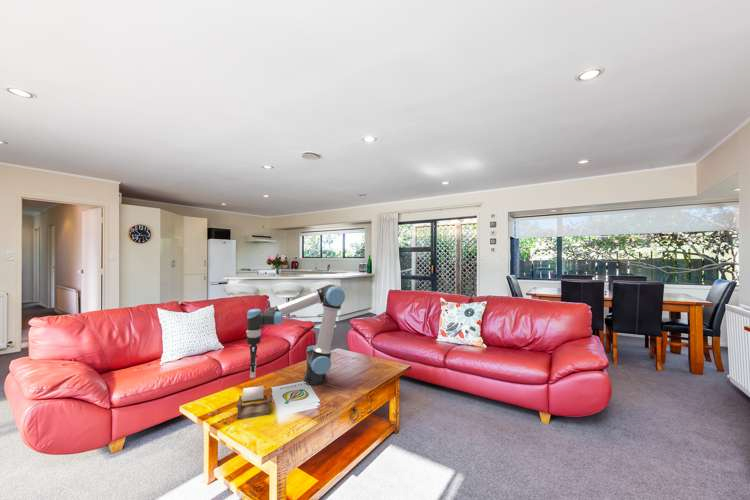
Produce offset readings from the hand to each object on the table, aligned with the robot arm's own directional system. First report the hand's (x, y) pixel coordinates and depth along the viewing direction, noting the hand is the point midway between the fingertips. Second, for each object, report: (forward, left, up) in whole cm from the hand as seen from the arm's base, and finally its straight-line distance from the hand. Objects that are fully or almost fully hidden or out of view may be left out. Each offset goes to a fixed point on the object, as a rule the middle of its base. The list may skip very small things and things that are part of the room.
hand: (253, 373), depth 183 cm
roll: (0, +1, -12) cm, 12 cm away
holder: (-1, +16, -15) cm, 22 cm away
